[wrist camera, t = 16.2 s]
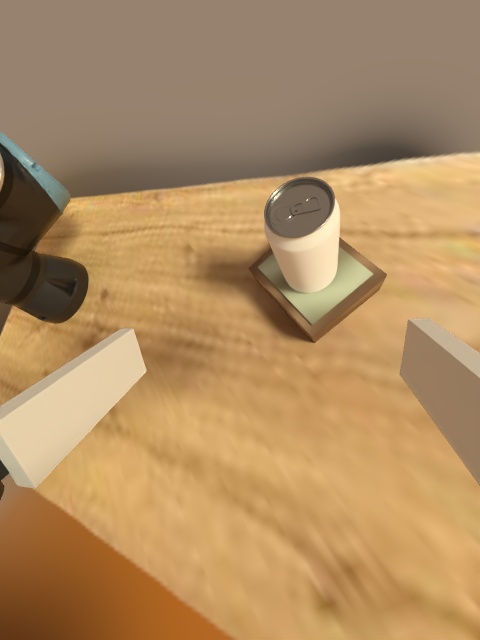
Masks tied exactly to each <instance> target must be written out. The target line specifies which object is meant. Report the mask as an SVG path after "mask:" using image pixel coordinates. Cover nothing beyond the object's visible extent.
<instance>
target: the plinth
mask: <svg viewBox="0 0 480 640" xmlns="http://www.w3.org/2000/svg"><path fill="white" fill-rule="evenodd" d="M249 270H250V271H251V272H252V274H253V275H254V277H255V278H256V279H257V281H258V282H259V283H260V284H261V285H262V286H263V288H264V289H265V290H266V291H267V292H268V293H269V294H270V295H271V296H272V297H273V299H274V300H275V301H276V302H277V303H278V304H279V305H280V306H281V307H282V308H283V309H284V311H285V312H286V313H287V314H288V315H289V316H290V317H291V318H292V319H293V320H294V321H295V323H296V324H297V325H298V326H299V327H300V328H301V329H302V330H303V331H304V332H305V333H306V335H307V336H308V337H309V338H310V339H311V340H312V341H313V342H314V343H315V342H316V341H318V340H319V339H320V338H321V337H322V336H324V335H325V334H326V333H327V332H329V331H330V330H331V329H332V328H333V327H335V326H336V325H337V324H338V323H340V322H341V321H342V320H343V319H344V318H346V317H347V316H348V315H349V314H351V313H352V312H353V311H354V310H355V309H357V308H358V307H359V306H360V305H361V304H363V303H364V302H365V301H366V300H368V299H369V298H370V297H371V296H372V295H374V294H375V293H376V292H377V291H379V289H380V287H381V285H382V283H383V282H384V280H385V278H386V276H387V274H386V273H384V272H383V271H382V270H381V269H379V268H378V267H377V266H375V265H374V264H373V263H372V262H370V261H369V260H368V259H366V258H365V257H364V256H363V255H361V254H360V253H359V252H358V251H356V250H355V249H354V248H352V247H351V246H350V245H349V244H347V243H346V242H345V241H343V240H342V239H341V238H340V237H339V249H338V265H337V272H336V275H335V277H334V279H333V281H332V282H331V283H330V284H329V285H328V286H327V287H325V288H324V289H322V290H320V291H317V292H313V293H302V292H299V291H296V290H294V289H293V288H291V287H290V286H289V284H288V283H287V281H286V279H285V277H284V275H283V273H282V271H281V269H280V267H279V264H278V262H277V260H276V258H275V255H274V253H273V251H272V249H270V250H269V251H267V252H266V253H265V254H264V255H263V256H262V257H261V258H260V259H259V260H258V261H256V262H255V263H254V264H253V265H252V266H251V267H250V268H249Z"/></svg>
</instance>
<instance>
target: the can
mask: <svg viewBox="0 0 480 640" xmlns="http://www.w3.org/2000/svg"><path fill="white" fill-rule="evenodd" d="M264 218H265V223H264V228H265V234H266V237H267V239H268V242H269V244H270V246H271V249H272V251H273V253H274V255H275V258H276V260H277V262H278V264H279V267H280V269H281V271H282V273H283V275H284V277H285V279H286V281H287V283H288V284H289V286H290V287H291V288H293V289H294V290H296V291H299V292H302V293H313V292H317V291H320V290H322V289H324V288H325V287H327V286H328V285H329V284H330V283H331V282H332V281H333V279H334V277H335V275H336V272H337V265H338V249H339V230H340V209H339V205H338V202H337V200H336V199H335V196H334V192H333V190H332V188H331V187H330V186H329V185H328V184H327V183H326V182H325V181H323V180H321V179H318V178H314V177H301V178H296V179H293V180H290V181H288V182H286V183H284V184H283V185H281V186H280V187H279V188H277V189H276V190H275V191H274V192H273V194H272V195H271V196H270V198H269V199H268V201H267V203H266V206H265V210H264Z"/></svg>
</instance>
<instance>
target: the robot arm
mask: <svg viewBox="0 0 480 640" xmlns="http://www.w3.org/2000/svg"><path fill="white" fill-rule="evenodd" d="M69 202H70V195H69V192H68V191H67V189H66V188H65V187H63V186H62V185H61V184H60V183H59V182H58V181H57V180H55V179H54V178H53V177H52V176H51V175H50V174H49V173H48V172H47V171H45V170H44V169H43V168H42V167H41V166H40V165H39V164H37V163H36V162H35V161H34V160H33V159H32V158H31V157H30V156H28V155H27V154H26V153H25V152H24V151H23V150H22V149H21V148H20V147H18V146H17V145H16V144H15V143H14V142H13V141H11V140H10V139H9V138H8V137H7V136H6V135H4V133H2V132H1V131H0V302H1V303H5V304H10V305H13V306H16V307H18V308H19V309H21V310H23V311H25V312H27V313H29V314H30V315H32V316H34V317H36V318H38V319H40V320H42V321H45V322H50V323H61V322H64V321H66V320H68V319H69V318H70V317H71V316H73V315H74V314H75V312H76V311H77V310H78V309H79V307H80V306H81V304H82V302H83V300H84V298H85V295H86V292H87V288H88V274H87V271H86V269H85V267H84V266H83V265H82V264H80V263H78V262H76V261H74V260H72V259H69V258H62V257H57V256H51V255H45V254H40V253H37V252H35V251H32V249H33V248H34V247H35V246H36V244H37V243H38V242H39V241H40V240H41V238H42V237H43V236H44V235H45V234H46V232H47V231H48V230H49V229H50V228H51V227H52V225H53V224H54V223H55V222H56V221H57V219H58V218H59V217H60V216H61V215H62V214H63V211H64V209H65V208H66V206H67V205H68V203H69ZM145 373H146V368H145V364H144V361H143V358H142V355H141V352H140V348H139V345H138V342H137V339H136V336H135V332H134V329H133V328H126V329H120V330H118V331H117V332H115V333H113V334H112V335H110V336H109V337H107V338H106V339H104V340H103V341H101V342H99V343H98V344H96V345H95V346H93V347H92V348H90V349H89V350H87V351H85V352H84V353H82V354H81V355H79V356H78V357H76V358H74V359H73V360H71V361H70V362H68V363H67V364H65V365H64V366H62V367H60V368H59V369H57V370H56V371H54V372H53V373H51V374H50V375H48V376H46V377H45V378H43V379H42V380H40V381H39V382H37V383H35V384H34V385H32V386H31V387H29V388H28V389H26V390H25V391H23V392H21V393H20V394H18V395H17V396H15V397H14V398H12V399H11V400H9V401H7V402H6V403H4V404H3V405H1V406H0V499H1V497H2V495H3V492H4V485H3V484H2V482H1V480H2V479H3V478H4V477H5V476H6V475H8V474H10V475H11V477H12V478H13V480H14V481H15V483H16V484H17V485H18V486H23V487H29V488H37V486H38V485H39V484H40V483H41V482H42V481H43V480H44V479H45V478H46V477H47V476H48V475H49V474H50V473H51V472H52V471H53V470H54V469H55V467H56V466H57V465H58V464H59V463H60V462H61V461H62V460H63V459H64V458H65V457H66V456H67V455H68V454H69V453H70V452H71V451H72V450H73V448H74V447H75V446H76V445H77V444H78V443H79V442H80V441H81V440H82V439H83V438H84V437H85V436H86V435H87V434H88V433H89V432H90V431H91V429H92V428H93V427H94V426H95V425H96V424H97V423H98V422H99V421H100V420H101V419H102V418H103V417H104V416H105V415H106V414H107V413H108V412H109V411H110V409H111V408H112V407H113V406H114V405H115V404H116V403H117V402H118V401H119V400H120V399H121V398H122V397H123V396H124V395H125V394H126V393H127V392H128V390H129V389H130V388H131V387H132V386H133V385H134V384H135V383H136V382H137V381H138V380H139V379H140V378H141V377H142V376H143V375H144V374H145ZM400 375H401V377H402V378H403V380H404V381H405V382H406V384H407V385H408V387H409V388H410V389H411V391H412V392H413V394H414V395H415V396H416V398H417V399H418V401H419V402H420V403H421V405H422V406H423V407H424V409H425V410H426V412H427V413H428V414H429V416H430V417H431V419H432V420H433V421H434V423H435V424H436V426H437V427H438V428H439V430H440V431H441V433H442V434H443V435H444V437H445V438H446V439H447V441H448V442H449V444H450V445H451V446H452V448H453V449H454V451H455V452H456V453H457V455H458V456H459V458H460V459H461V460H462V462H463V463H464V465H465V466H466V467H467V469H468V470H469V472H470V473H471V474H472V476H473V477H474V478H475V480H476V481H477V483H478V484H479V485H480V353H479V352H477V351H476V350H474V349H473V348H472V347H470V346H469V345H467V344H466V343H464V342H463V341H461V340H460V339H459V338H457V337H456V336H454V335H453V334H451V333H450V332H449V331H447V330H446V329H444V328H443V327H441V326H440V325H438V324H437V323H436V322H434V321H433V320H431V319H430V318H420V319H408V324H407V330H406V337H405V343H404V350H403V356H402V363H401V369H400Z"/></svg>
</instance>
